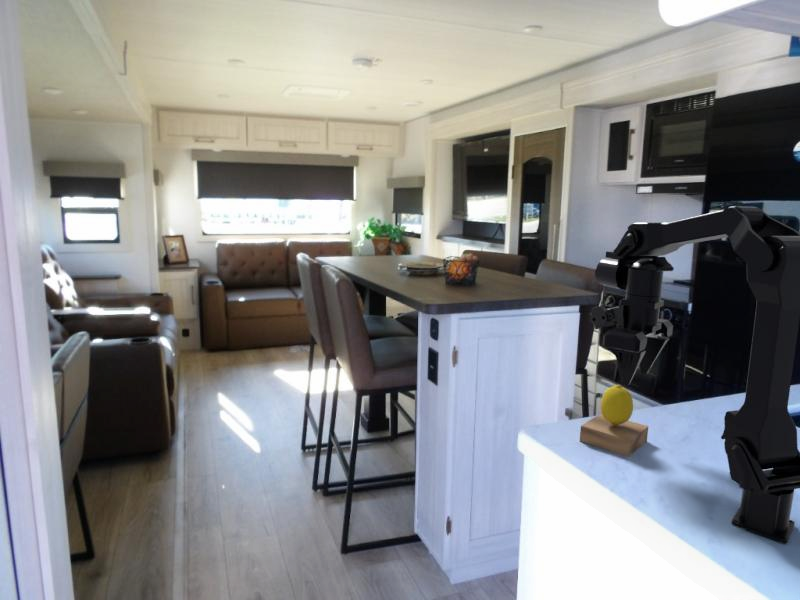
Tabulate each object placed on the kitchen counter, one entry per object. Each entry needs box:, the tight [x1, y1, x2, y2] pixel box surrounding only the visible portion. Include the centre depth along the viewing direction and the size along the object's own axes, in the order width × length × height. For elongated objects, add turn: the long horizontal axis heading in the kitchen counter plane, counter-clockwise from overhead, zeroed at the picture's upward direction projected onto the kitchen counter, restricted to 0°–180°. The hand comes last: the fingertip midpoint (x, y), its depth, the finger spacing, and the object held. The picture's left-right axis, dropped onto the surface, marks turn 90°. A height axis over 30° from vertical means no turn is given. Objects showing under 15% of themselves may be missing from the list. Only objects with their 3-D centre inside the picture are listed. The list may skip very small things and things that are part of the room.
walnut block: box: [579, 412, 649, 457], centre depth 103 cm, size 9×9×3 cm
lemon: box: [600, 384, 634, 426], centre depth 102 cm, size 6×6×8 cm
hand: (634, 379), depth 101 cm, fingers open, 9 cm apart
